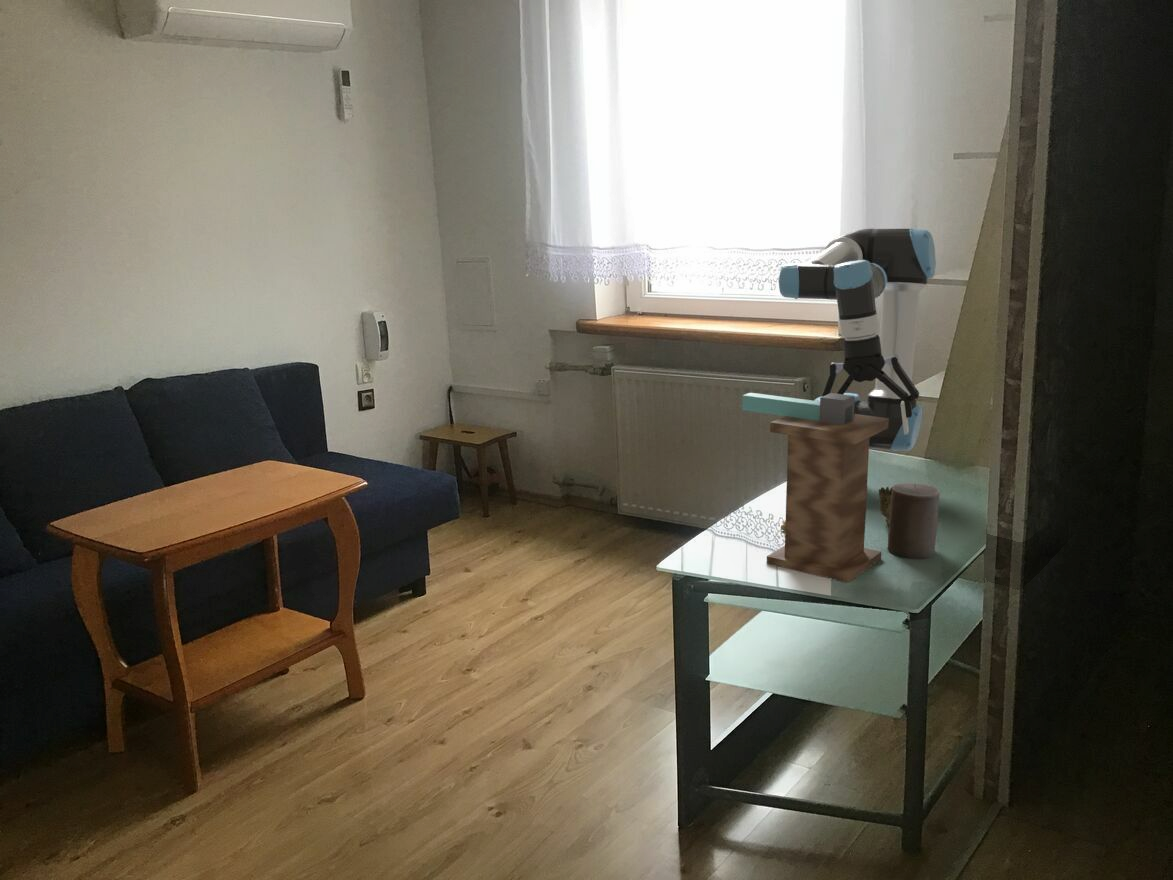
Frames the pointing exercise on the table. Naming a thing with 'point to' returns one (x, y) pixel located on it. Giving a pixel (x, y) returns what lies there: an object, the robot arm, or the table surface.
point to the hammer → (804, 407)
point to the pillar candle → (913, 520)
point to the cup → (885, 502)
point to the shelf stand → (826, 496)
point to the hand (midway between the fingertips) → (873, 435)
